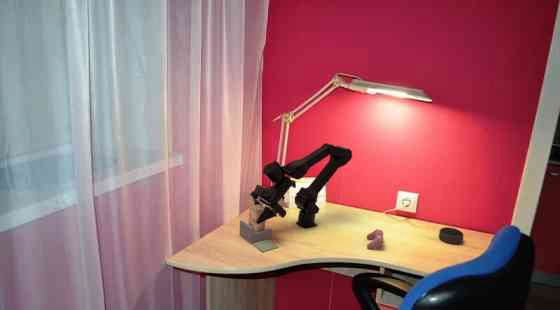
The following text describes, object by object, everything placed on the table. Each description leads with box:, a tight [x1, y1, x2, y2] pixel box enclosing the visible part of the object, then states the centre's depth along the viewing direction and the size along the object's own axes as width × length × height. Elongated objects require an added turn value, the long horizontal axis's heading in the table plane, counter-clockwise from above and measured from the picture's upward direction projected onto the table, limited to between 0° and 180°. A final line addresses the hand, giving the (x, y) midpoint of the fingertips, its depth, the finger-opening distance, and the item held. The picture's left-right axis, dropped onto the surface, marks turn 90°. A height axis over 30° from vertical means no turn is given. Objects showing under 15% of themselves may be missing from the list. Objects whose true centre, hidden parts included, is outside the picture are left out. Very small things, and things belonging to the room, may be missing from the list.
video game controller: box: [366, 228, 384, 250], centre depth 151 cm, size 10×5×7 cm, turn 169°
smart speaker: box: [438, 226, 464, 245], centre depth 159 cm, size 9×9×4 cm
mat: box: [251, 239, 279, 253], centre depth 146 cm, size 7×7×1 cm
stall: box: [239, 219, 272, 245], centre depth 152 cm, size 9×9×6 cm
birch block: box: [248, 204, 266, 233], centre depth 152 cm, size 4×4×10 cm
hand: (253, 221), depth 151 cm, fingers closed on birch block, 4 cm apart
